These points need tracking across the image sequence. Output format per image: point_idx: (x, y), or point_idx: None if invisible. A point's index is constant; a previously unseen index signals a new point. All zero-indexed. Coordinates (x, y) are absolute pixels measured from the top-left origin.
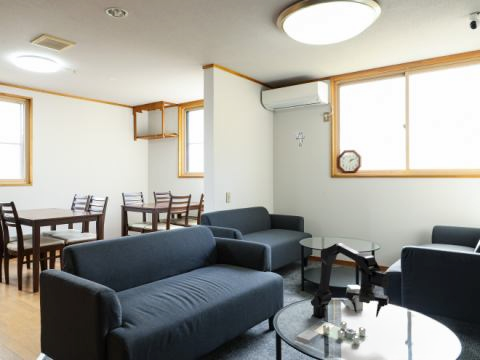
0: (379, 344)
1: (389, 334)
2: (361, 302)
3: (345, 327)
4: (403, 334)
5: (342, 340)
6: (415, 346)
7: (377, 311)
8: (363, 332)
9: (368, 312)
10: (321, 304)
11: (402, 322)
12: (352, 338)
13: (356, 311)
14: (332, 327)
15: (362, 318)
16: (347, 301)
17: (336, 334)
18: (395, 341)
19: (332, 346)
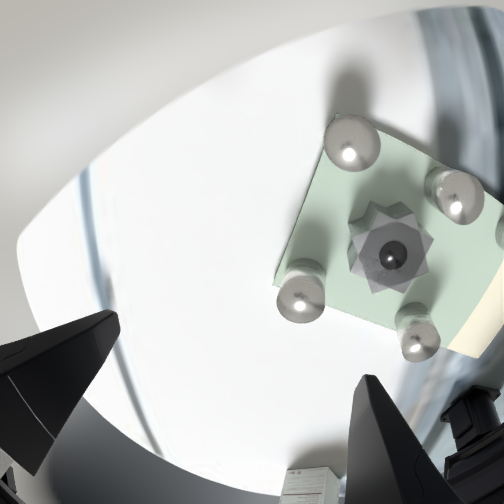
0: (203, 222)
1: (173, 340)
2: (287, 492)
3: (407, 321)
4: (130, 347)
5: (433, 169)
6: (80, 261)
7: (45, 340)
8: (293, 275)
9: (267, 461)
10: (494, 440)
11: (155, 416)
12: (372, 202)
13: (368, 390)
14: (462, 324)
15: (291, 435)
16: (336, 491)
17: (460, 245)
18: (141, 282)
19: (474, 100)
